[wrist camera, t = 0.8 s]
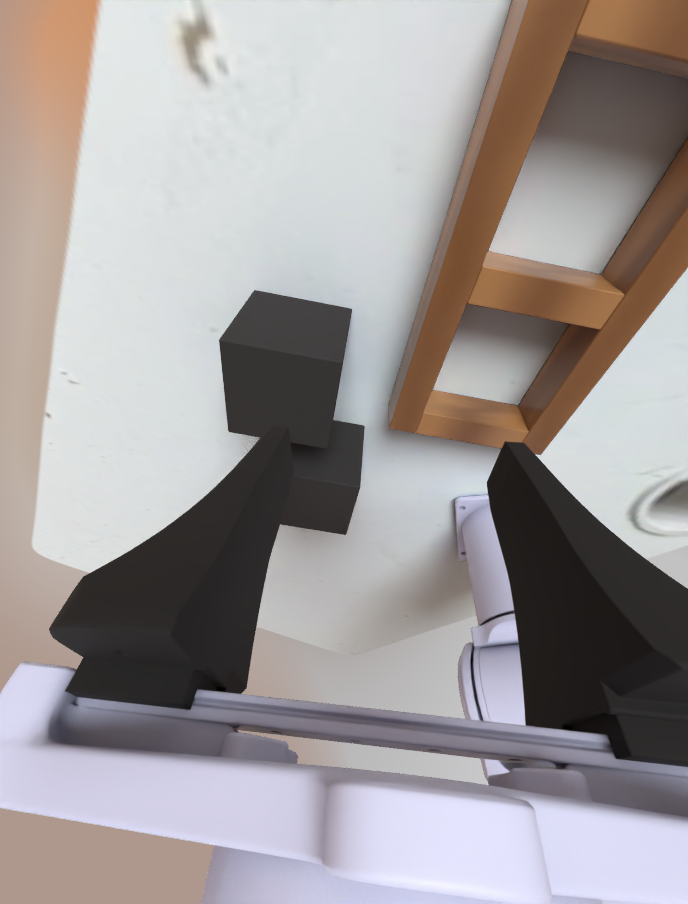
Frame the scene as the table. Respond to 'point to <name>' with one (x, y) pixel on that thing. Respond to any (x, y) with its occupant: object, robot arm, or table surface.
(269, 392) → the black block
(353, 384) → the table surface
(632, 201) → the table surface
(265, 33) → the table surface
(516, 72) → the wooden frame
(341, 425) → the dark grey block
